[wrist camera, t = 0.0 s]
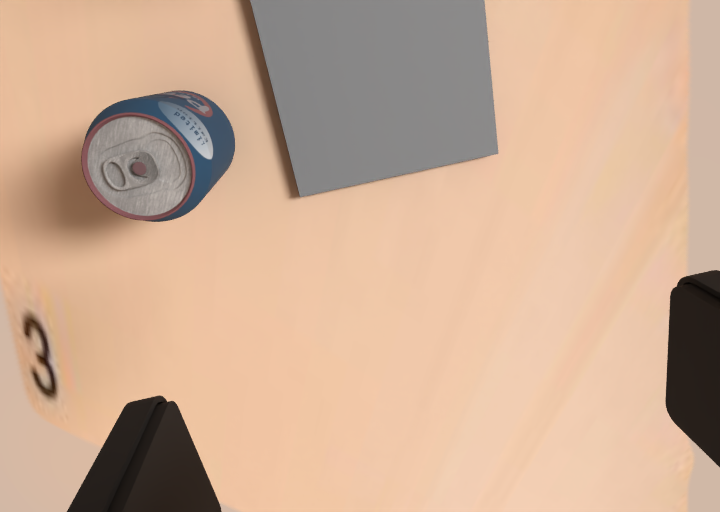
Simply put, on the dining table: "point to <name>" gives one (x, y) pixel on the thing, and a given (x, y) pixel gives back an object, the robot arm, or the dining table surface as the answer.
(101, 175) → the soda can
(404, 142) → the mat
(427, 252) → the dining table surface
